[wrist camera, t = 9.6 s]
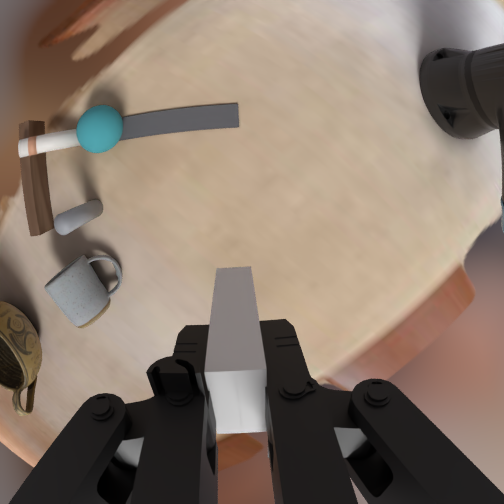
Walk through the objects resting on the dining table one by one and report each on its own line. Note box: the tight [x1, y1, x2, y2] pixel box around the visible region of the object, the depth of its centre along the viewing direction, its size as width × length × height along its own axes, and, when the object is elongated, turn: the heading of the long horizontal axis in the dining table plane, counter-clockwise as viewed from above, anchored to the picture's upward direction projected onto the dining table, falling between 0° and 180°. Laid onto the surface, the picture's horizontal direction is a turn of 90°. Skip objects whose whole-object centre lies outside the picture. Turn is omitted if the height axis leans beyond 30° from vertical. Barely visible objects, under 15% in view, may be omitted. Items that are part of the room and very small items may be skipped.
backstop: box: [19, 121, 55, 236], centre depth 31 cm, size 2×16×4 cm, turn 2°
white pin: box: [18, 129, 81, 158], centre depth 28 cm, size 2×2×9 cm
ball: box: [76, 105, 123, 153], centre depth 29 cm, size 6×6×6 cm
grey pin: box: [54, 199, 103, 235], centre depth 31 cm, size 2×2×9 cm
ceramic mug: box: [45, 255, 122, 328], centre depth 35 cm, size 11×8×8 cm
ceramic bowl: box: [0, 301, 42, 416], centre depth 33 cm, size 22×17×15 cm
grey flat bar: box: [119, 104, 239, 141], centre depth 32 cm, size 16×3×1 cm, turn 92°
